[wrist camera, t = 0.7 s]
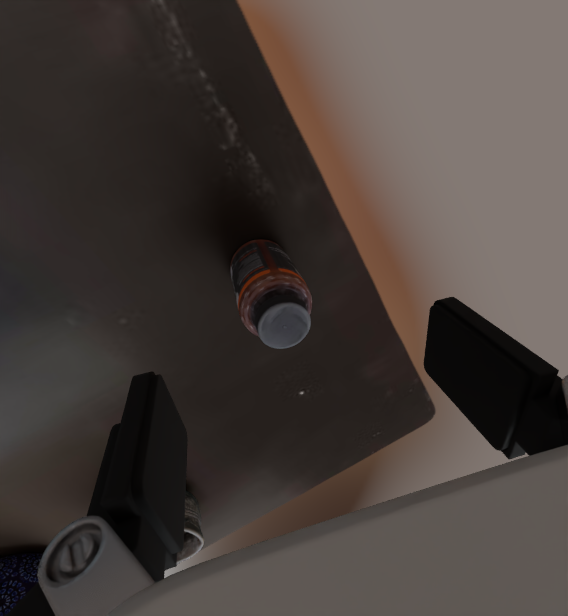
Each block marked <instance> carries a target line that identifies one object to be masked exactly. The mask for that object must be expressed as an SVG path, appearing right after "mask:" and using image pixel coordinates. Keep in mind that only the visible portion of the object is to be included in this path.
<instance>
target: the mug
mask: <svg viewBox="0 0 568 616" xmlns="http://www.w3.org/2000/svg"><path fill="white" fill-rule="evenodd" d="M200 526H201V514H200V508H199V504H198V501H197V500H196V498H195V497H194V496H193V495H192V494H191V493H190V492H188V491H186V494H185V522H184V545H183V550H182V551H180V552H177V564H179V563H180V562H181V561H185V560H187V559H189V558H191V557H192V556H193V555H195V554H196V553H197V552H199V551H200V549H201V548H202V546H203V544H204V538H203V535H202V533H201V529H200Z"/></svg>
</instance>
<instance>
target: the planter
mask: <svg viewBox="0 0 568 616" xmlns="http://www.w3.org/2000/svg"><path fill="white" fill-rule="evenodd" d="M42 556H43V553H21V554H14V555H9V556H5V557H1V558H0V616H5V615H6V614H7V613H8V612H9V611H10V610H11V609H12V608H13V607H14V606H15V605H16V604H17V603H18V602H19V601H20V600H21V599H22V598H23V597H24V596H25V595H26V594H27V593H28V592H29V591H30V590H31V589H32V587H33V586H34V585H35V584H36V583H37V582H38V576H37V574H38V567H39V563H40V560H41V558H42Z"/></svg>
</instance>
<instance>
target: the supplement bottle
mask: <svg viewBox="0 0 568 616" xmlns="http://www.w3.org/2000/svg"><path fill="white" fill-rule="evenodd" d="M230 271H231V278H232V282H233V287H234V291H235V296H236V301H237V305H238V309H239V314H240V317H241V319H242V322H243V323H244V325H245V326H246V328H247V329H248V330H249V331H251V332H252V333H253V334H255V335H257V336H259V337H260V339H261V340H262V341H263V342H264V343H265V344H266V345H268V346H270V347H272V348H278V349H282V348H288V347H292V346H294V345H296V344H297V343H299V342H300V341H301V340H302V339H303V338H304V337H305V336H306V334H308V331H309V329H310V324H311V319H310V312H311V308H312V297H311V293H310V291H309V288H308V286H307V285H306V283H305V281H304V280H303V278H302V277H301V275H300V274H299V272H298V271H297V269H296V268H295V266H294V265H293V263H292V261H291V260H290V258H289V257H288V255H287V254H286V252H285V251H284V250H283V249H282V248H281V247H280V246H279V245H278V244H276V243H274V242H272V241H269V240H263V239H259V240H252V241H250V242H247V243H246V244H244V245H243V246H241V247H240V248H239V249H238V250H237V251H236V253H235V254H234V256H233V258H232V261H231V266H230Z"/></svg>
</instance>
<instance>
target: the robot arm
mask: <svg viewBox="0 0 568 616" xmlns="http://www.w3.org/2000/svg"><path fill="white" fill-rule="evenodd" d="M424 368H425V370H426V372H427V374H428V375H429V376H430V377H431V378H432V379H433V380H434V382H435V383H436V384H437V385H438V386H439V387H440V388H441V389H442V391H443V392H444V393H445V394H446V395H447V396H448V397H449V398H450V399H451V401H452V402H453V403H454V404H455V405H456V406H457V407H458V408H459V410H460V411H461V412H462V413H463V414H464V415H465V416H466V417H467V418H468V420H469V421H470V422H471V423H472V424H473V425H474V426H475V427H476V429H477V430H478V431H479V432H480V433H481V434H482V435H483V436H484V437H485V439H486V440H487V441H488V442H489V443H490V444H491V445H492V446H493V447H494V448H495V449H496V450H501V451H502V452H503V453H504V454H505V456H506V457H507V458H508V459H512V458H515V457H518V456H522V455H524V454H525V452H526V453H527V454H528V455H529V456H528V457H524V458H521V459H518V460H514V461H511V462H508V463H505V464H502V465H498V466H495V467H492V468H489V469H486V470H483V471H480V472H477V473H473V474H470V475H467V476H464V477H461V478H457V479H454V480H451V481H448V482H445V483H442V484H438V485H435V486H432V487H429V488H426V489H423V490H420V491H417V492H414V493H410V494H407V495H404V496H401V497H398V498H395V499H392V500H389V501H386V502H382V503H379V504H376V505H373V506H370V507H367V508H364V509H361V510H358V511H354V512H351V513H349V514H345V515H342V516H339V517H336V518H333V519H330V520H327V521H324V522H321V523H318V524H315V525H312V526H309V527H306V528H302V529H299V530H297V531H293V532H290V533H287V534H284V535H281V536H278V537H275V538H272V539H269V540H266V541H263V542H260V543H257V544H254V545H251V546H248V547H246V548H243V549H240V550H237V551H234V552H231V553H228V554H225V555H223V556H220V557H217V558H214V559H211V560H208V561H205V562H202V563H200V564H198V565H195V566H192V567H190V568H187V569H185V570H182V571H180V572H177V573H175V574H172V575H170V576H168V577H166V578H164V571H165V570H166V569H169V568H172V567H176V566H177V552H180V551H182V550H183V545H184V522H185V494H186V466H187V432H186V429H185V427H184V424H183V422H182V420H181V418H180V415H179V413H178V411H177V409H176V407H175V404H174V402H173V400H172V398H171V396H170V393H169V391H168V389H167V387H166V385H165V382H164V380H163V378H162V376H161V375H160V374H159V375H155V374H154V372H148V373H144V374H140V375H136V376H134V377H133V378H132V381H131V385H130V389H129V393H128V397H127V401H126V405H125V408H124V412H123V416H122V420H121V423H119V424H116V425H114V426H113V427H112V430H111V432H110V436H109V439H108V443H107V446H106V450H105V453H104V457H103V460H102V464H101V467H100V471H99V475H98V478H97V482H96V485H95V489H94V492H93V496H92V499H91V503H90V506H89V510H88V514H87V517H82V518H80V519H78V520H76V521H74V522H72V523H71V524H69V525H68V526H67V527H65V528H64V529H63V530H61V531H60V532H59V533H58V534H57V536H56V537H55V538H54V539H53V540H52V541H51V542H50V544H49V545H48V547H47V548H46V550H45V551H44V553H43V556H42V558H41V560H40V563H39V567H38V574H37V576H38V582H37V583H36V584H35V585H34V586H33V587H32V589H31V590H30V591H29V592H28V593H27V594H26V595H25V596H24V597H23V598H22V599H21V600H20V601H19V602H18V603H17V604H16V605H15V606H14V607H13V608H12V609H11V610H10V611H9V612H8V613H7V614H6V615H5V616H568V375H567V376H566V377H565V378H564V379H561V378H560V377H559V376H557V374H558V371H559V370H557V369H556V368H554V367H553V366H552V365H550V364H549V363H547V362H546V361H545V360H543V359H542V358H540V357H539V356H537V355H536V354H534V353H533V352H532V351H530V350H529V349H527V348H526V347H525V346H523V345H522V344H520V343H519V342H518V341H516V340H514V339H513V338H512V337H510V336H509V335H507V334H506V333H505V332H503V331H502V330H500V329H499V328H498V327H496V326H495V325H493V324H492V323H490V322H489V321H487V320H486V319H485V318H483V317H482V316H480V315H479V314H478V313H476V312H475V311H473V310H472V309H470V308H469V307H467V306H466V305H465V304H463V303H462V302H460V301H459V300H457V299H456V298H454V297H449V298H445V299H441V300H437V301H435V303H434V305H433V306H432V307H431V308H430V315H429V322H428V331H427V340H426V348H425V357H424Z"/></svg>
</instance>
